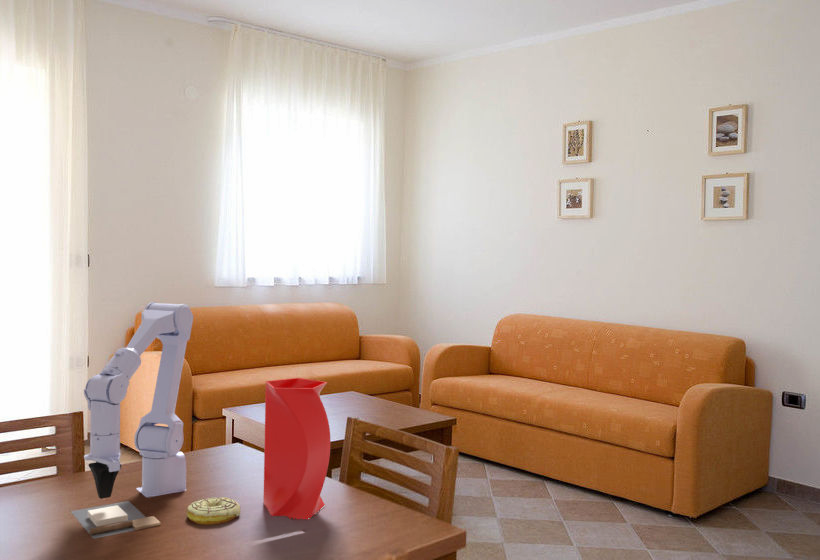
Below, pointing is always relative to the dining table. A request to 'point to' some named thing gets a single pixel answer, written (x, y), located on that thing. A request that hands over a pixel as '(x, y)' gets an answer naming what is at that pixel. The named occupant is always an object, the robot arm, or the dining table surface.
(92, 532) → the turner
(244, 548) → the dining table surface
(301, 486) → the vase
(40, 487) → the dining table surface
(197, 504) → the decorated donut
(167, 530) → the dining table surface
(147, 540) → the dining table surface
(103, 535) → the mat
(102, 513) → the tile
